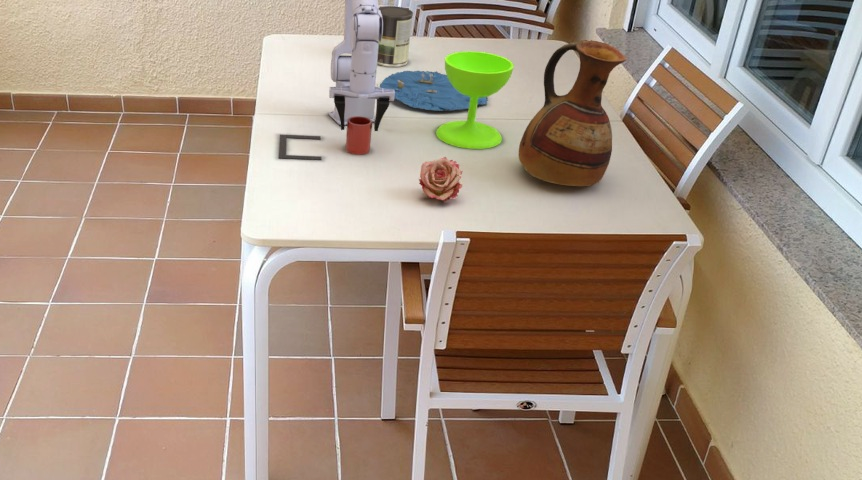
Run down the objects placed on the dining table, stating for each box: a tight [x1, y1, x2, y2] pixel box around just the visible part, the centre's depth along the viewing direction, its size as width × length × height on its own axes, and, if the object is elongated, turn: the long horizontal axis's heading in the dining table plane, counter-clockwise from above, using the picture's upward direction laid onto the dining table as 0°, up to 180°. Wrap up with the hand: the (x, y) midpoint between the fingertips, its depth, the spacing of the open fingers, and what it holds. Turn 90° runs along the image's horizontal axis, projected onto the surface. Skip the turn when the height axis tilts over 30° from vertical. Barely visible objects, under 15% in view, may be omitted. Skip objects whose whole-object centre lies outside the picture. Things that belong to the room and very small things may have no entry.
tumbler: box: [345, 116, 373, 155], centre depth 222 cm, size 6×6×7 cm
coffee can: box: [377, 5, 414, 68], centre depth 274 cm, size 10×10×14 cm
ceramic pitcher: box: [518, 39, 627, 187], centre depth 209 cm, size 20×20×30 cm
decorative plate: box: [379, 70, 488, 112], centre depth 256 cm, size 30×30×5 cm
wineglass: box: [435, 50, 515, 150], centre depth 229 cm, size 16×16×18 cm
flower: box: [418, 156, 463, 203], centre depth 203 cm, size 10×9×8 cm
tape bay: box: [278, 134, 322, 161], centre depth 223 cm, size 10×14×1 cm
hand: (359, 129), depth 221 cm, fingers open, 7 cm apart
